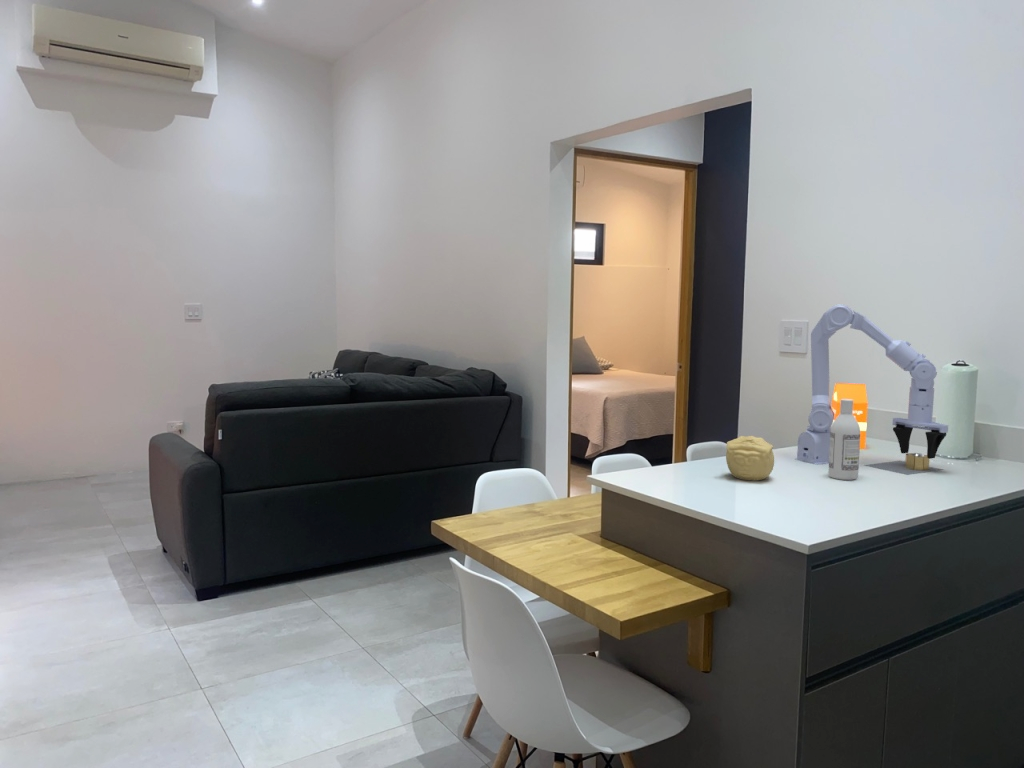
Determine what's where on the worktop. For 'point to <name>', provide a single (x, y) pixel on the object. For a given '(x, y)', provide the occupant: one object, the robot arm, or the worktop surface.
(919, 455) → the piston post
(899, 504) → the worktop surface
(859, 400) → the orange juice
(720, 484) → the worktop surface
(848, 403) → the bath foam
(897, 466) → the mat
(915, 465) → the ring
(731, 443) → the sculpture
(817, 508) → the worktop surface
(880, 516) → the worktop surface
